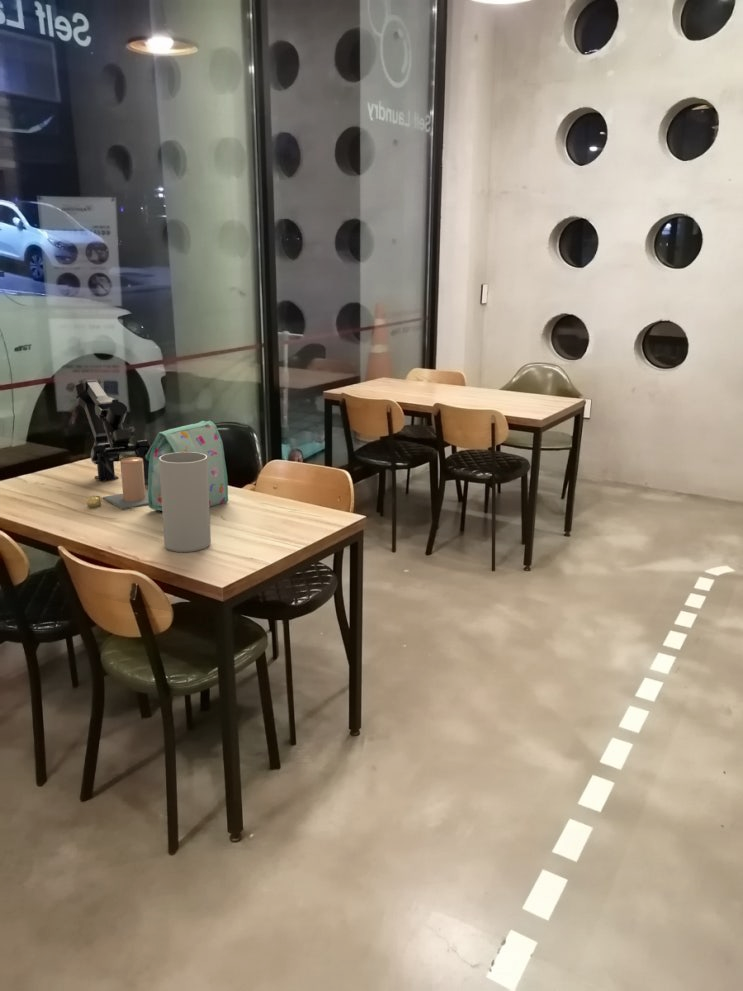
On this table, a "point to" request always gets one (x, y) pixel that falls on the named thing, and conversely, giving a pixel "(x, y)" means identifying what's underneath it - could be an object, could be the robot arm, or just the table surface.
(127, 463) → the terracotta cup
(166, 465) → the cylinder vase
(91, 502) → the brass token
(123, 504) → the slate mat
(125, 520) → the table surface
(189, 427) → the lunch bag
